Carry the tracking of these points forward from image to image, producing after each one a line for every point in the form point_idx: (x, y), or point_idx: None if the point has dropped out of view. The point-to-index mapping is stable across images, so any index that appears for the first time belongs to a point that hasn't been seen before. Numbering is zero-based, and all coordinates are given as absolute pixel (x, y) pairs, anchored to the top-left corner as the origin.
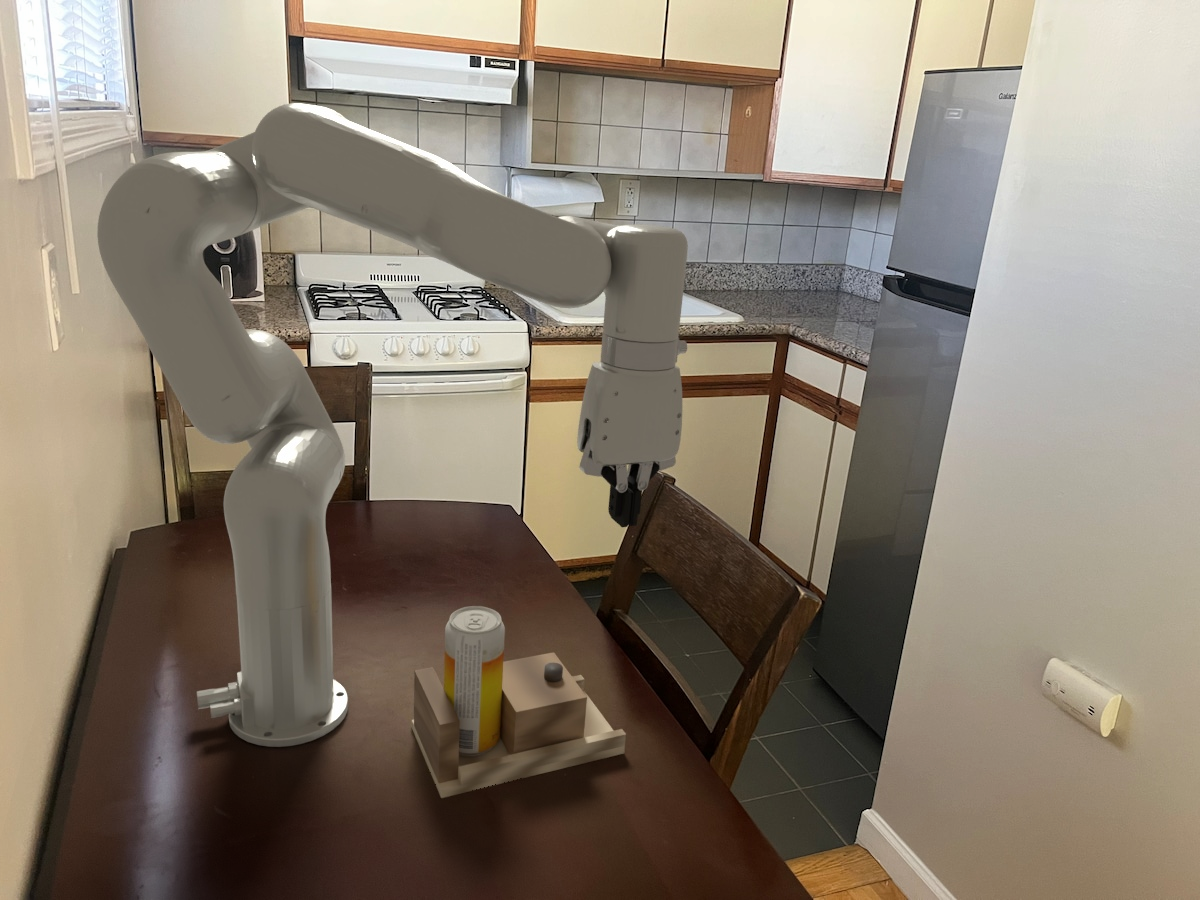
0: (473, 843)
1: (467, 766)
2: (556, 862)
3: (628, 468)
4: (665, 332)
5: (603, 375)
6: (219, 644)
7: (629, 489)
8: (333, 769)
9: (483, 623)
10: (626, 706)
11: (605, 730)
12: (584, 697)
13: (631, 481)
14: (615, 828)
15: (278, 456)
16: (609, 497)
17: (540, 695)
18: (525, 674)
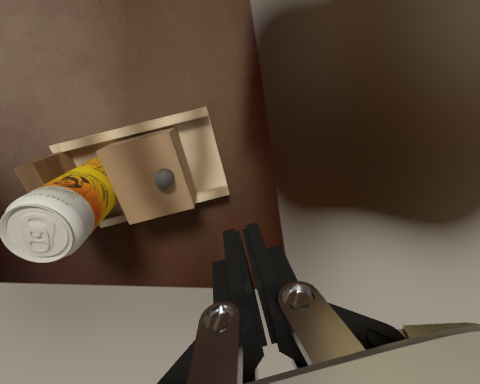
0: (120, 257)
1: (104, 222)
2: (170, 271)
3: (293, 332)
4: None
5: None
6: None
7: (269, 327)
8: (2, 190)
9: (50, 239)
10: (244, 131)
11: (217, 172)
12: (192, 208)
13: (281, 343)
14: (208, 251)
15: None
16: (213, 288)
17: (151, 203)
18: (137, 170)
